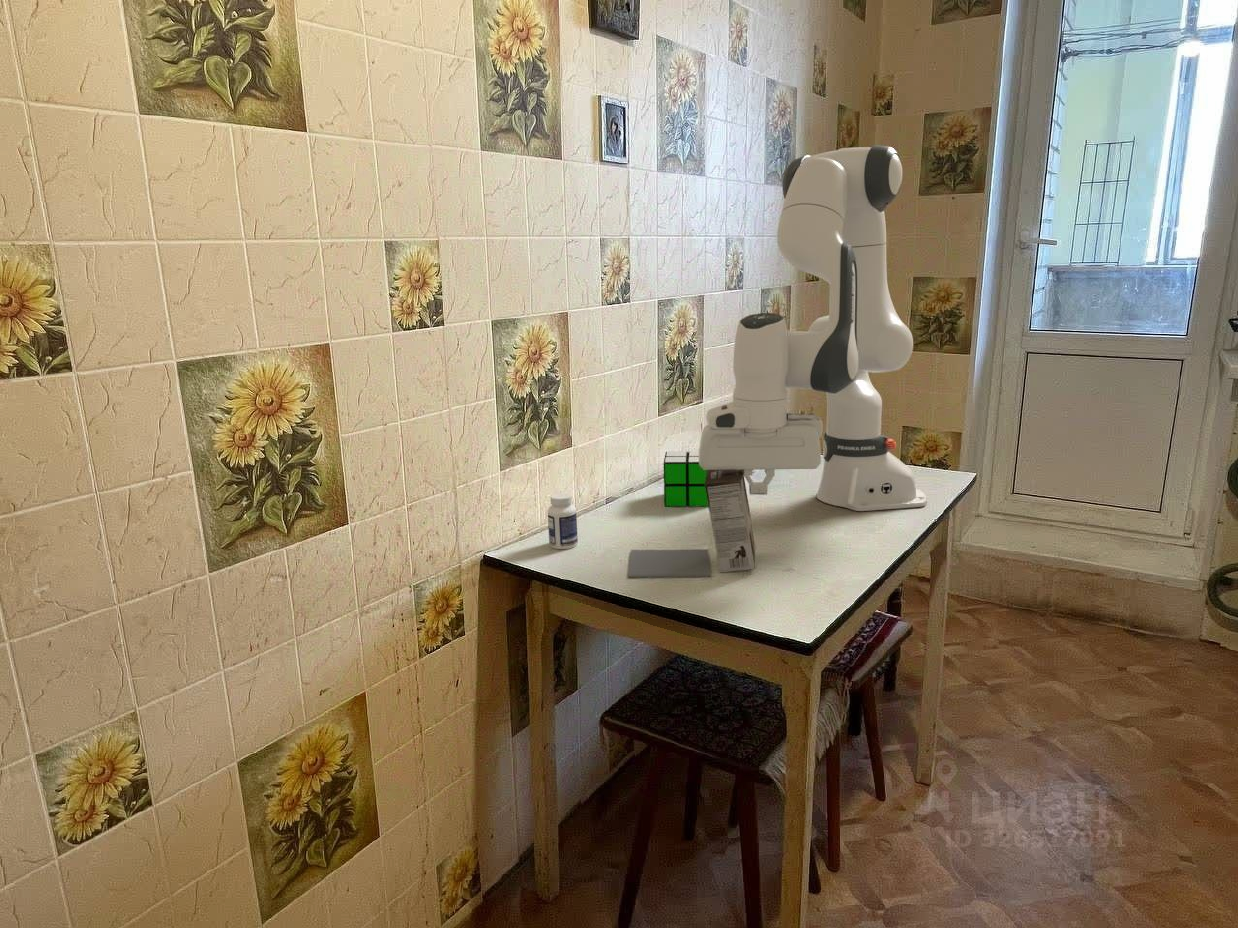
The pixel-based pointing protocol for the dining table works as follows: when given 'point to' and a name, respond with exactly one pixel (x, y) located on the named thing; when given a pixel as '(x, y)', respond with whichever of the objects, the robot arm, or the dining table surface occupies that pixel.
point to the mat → (669, 564)
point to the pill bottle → (562, 522)
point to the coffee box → (730, 520)
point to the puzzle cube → (684, 480)
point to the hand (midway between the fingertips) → (758, 493)
